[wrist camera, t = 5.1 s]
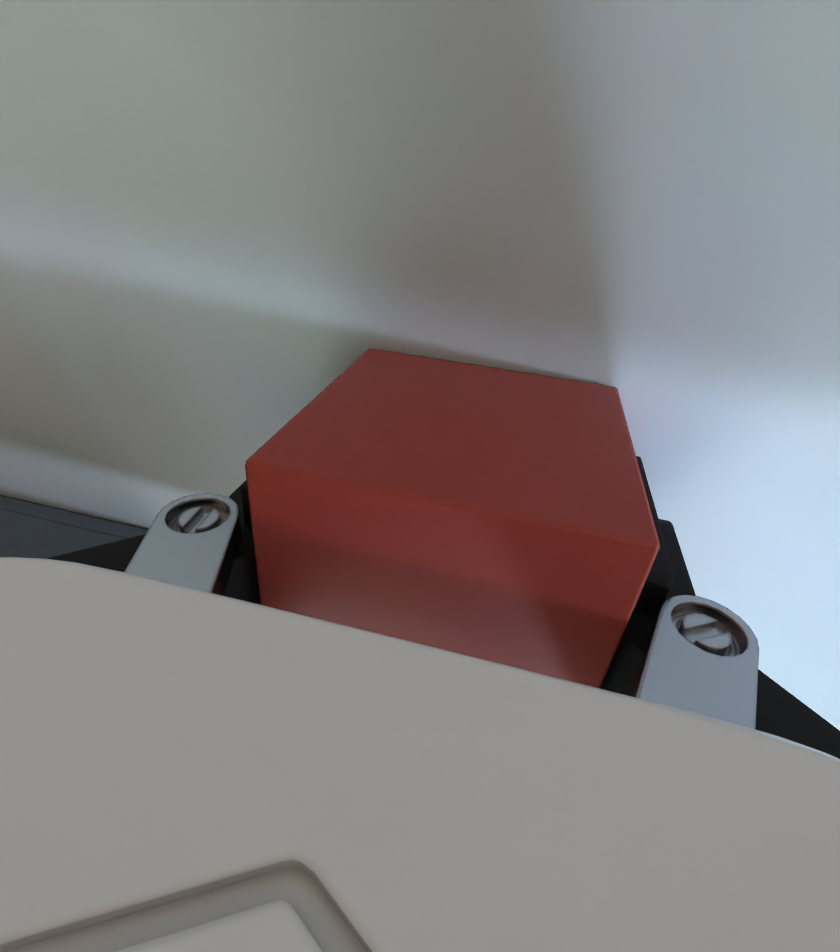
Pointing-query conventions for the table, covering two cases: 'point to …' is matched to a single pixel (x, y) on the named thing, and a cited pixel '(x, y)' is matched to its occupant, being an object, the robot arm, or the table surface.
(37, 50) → the table surface
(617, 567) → the block
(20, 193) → the table surface
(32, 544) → the tub
